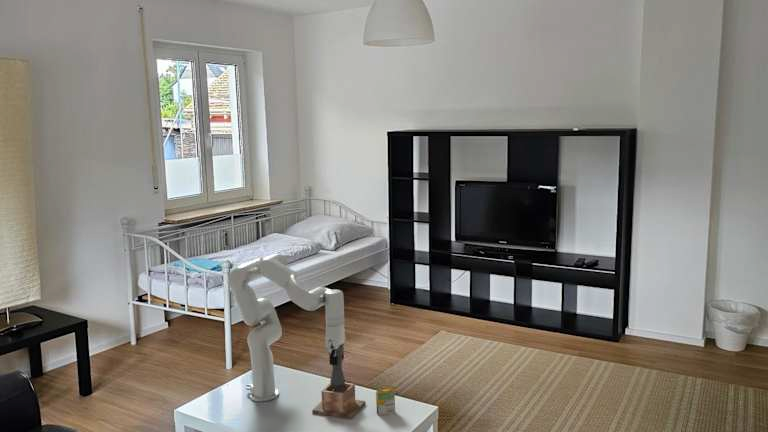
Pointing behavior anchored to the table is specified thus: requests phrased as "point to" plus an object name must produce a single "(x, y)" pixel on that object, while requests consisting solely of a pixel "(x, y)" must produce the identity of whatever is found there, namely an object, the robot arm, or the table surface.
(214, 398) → the table surface
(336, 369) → the candle holder
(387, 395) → the crayon box
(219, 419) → the table surface
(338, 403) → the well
